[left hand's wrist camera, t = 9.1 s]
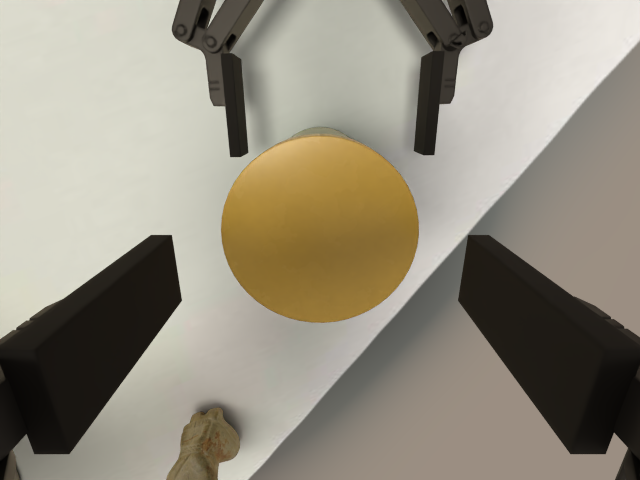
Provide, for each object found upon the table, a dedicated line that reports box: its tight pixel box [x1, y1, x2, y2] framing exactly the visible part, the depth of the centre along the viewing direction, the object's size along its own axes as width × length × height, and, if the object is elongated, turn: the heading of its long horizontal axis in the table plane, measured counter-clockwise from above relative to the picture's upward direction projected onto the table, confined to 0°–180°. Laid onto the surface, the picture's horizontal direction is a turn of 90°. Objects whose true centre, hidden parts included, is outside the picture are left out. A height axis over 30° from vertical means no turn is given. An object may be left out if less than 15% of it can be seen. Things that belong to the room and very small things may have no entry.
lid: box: [221, 134, 419, 323], centre depth 17 cm, size 9×9×2 cm
